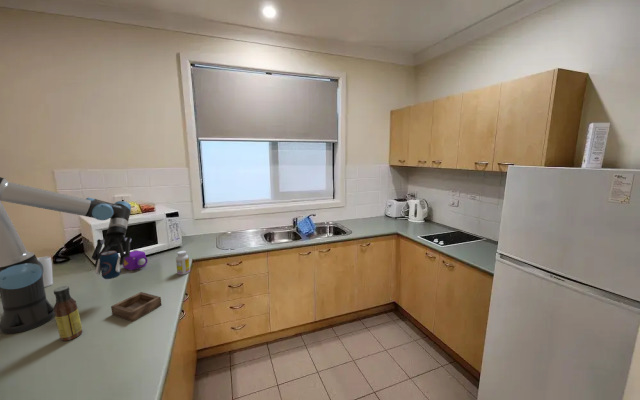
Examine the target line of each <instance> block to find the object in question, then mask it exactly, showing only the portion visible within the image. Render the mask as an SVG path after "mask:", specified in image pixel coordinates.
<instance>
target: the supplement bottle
mask: <svg viewBox="0 0 640 400" xmlns="http://www.w3.org/2000/svg"><path fill="white" fill-rule="evenodd" d="M176 254H177V256H176V258H175V262H176V263H175V264H176V273H177V275H182V276H183V275H186V274H189V272H191V268H190V259H189V255H188V254H187V251H186V250H180V251H177V253H176Z"/></svg>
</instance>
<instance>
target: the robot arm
mask: <svg viewBox="0 0 640 400" xmlns="http://www.w3.org/2000/svg"><path fill="white" fill-rule="evenodd" d="M3 202H6V203H10V204H15V205H16V204H17V205H22V206H28V207H33V208H39V209H43V210H50V211H54V212H55V211H56V212H60V213H66V214H71V215H77V216H83V217H88V218H93V219H95V220H98V221H106V220H109V224H108V228H107V232H106V236H105V237H104V238H103V239H100V238H99V239H97V240H96V245H95V248H94V250H93V254H92V255H91V259H92V260H94V261H95V262H94V267H95V274H96V275H98V276H99V275H100V274H101V265H100V256H101V253H103V252H106V251H110V249H111V248H113V247H117V249H118V252H119V253H118V254H119V257H118V261H117V265H116V271H117V272H120V270H121V267H122V266H123V264H124V259H125V258H126V257H129V256H130V252H131V243H132V240H133V239H132V238H131V236H128V237H126V235H127V234H126V233H127V229H128V225H129V220H130V216H131V211H132V205H131V203H129V202H127V201H121V200H118V201H116V202H115V203H111V202H107V201H104V200H101V199H97V198H93V197H86V198H82V197H77V196H74V195H68V194H65V193H60V192H55V191H51V190H46V189H42V188H37V187H33V186H29V185H24V184H20V183H16V182H11V181H8V180H7V179H6V178H5V177H1V176H0V300H1V306H2V310H3V312H2V314H1V315H2V316H1V319H0V333H1V334H5V335H11V334H12V335H13V334H17V333H22V332H26V331H29V330H32V329H35V328H38V327H40V326H42V325H45V323H47V322H49V321H50V320H52V319H54V318H55V313H54V309H53V308H54V306H53V305H52V304H51V303H50V301H48V299H47V293H46V290H45V288H46V287H44V282H43V271H44V270H43V265H42V264H41V263H40V262H39V261H38V259H37V258H38V257H37V256H36V254H35V252H33V251H28V250H27V248H26V246H25V244H24V242H23V240H22V238H21V236H20V235H19V233H18V230H17V229H16V227H15V225H14V223H13V221H12V219H11V218H10V217H11V216H10V215H9V214H8V212H7V210H6V208H5V205H4V204H3ZM124 242H125V250H124V249H123V243H124ZM104 243H105V244H104ZM103 245H104V246H103Z"/></svg>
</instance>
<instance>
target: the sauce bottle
mask: <svg viewBox="0 0 640 400" xmlns="http://www.w3.org/2000/svg"><path fill="white" fill-rule="evenodd" d="M53 294H54V296H55V304H54V305H53V309H54V313H55V316H54V318H55V322H56V327H57V331H58V335H59V338H60V339H61V341H63V342H64V341H65V342H67V341H70V340H74V339H76V338H78V337H80V335H82V333H83V326H82V321H81V316H80V311H79V308H78V305H77V301H76V300H75V299H74V298H72V297H71V294H70V287H69V286H68V285H65V286H64V285H63V286H59V287H57V288H55V289H54V290H53Z"/></svg>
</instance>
